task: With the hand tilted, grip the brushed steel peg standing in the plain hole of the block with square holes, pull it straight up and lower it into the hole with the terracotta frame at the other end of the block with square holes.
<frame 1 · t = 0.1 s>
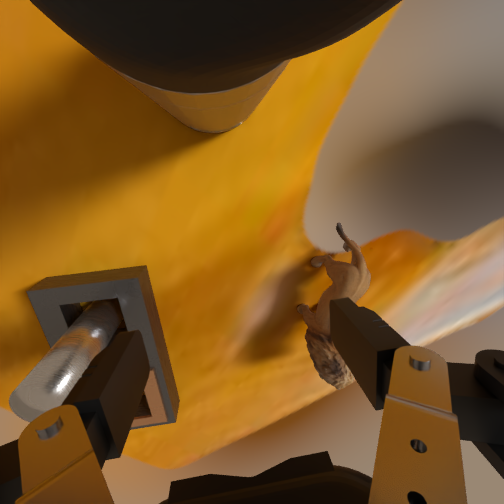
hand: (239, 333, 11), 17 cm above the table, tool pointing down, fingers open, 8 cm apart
steel peg: (108, 308, 29), resting in block with square holes
lion figurine: (323, 286, 32), on the table
block with square holes: (120, 346, 31), on the table
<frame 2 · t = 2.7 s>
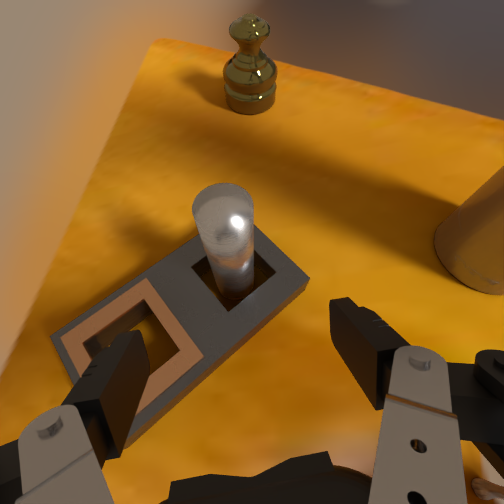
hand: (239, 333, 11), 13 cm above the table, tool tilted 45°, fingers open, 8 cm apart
bronze chess pawn: (250, 101, 40), on the table
steel peg: (235, 282, 27), resting in block with square holes
block with square holes: (193, 315, 25), on the table
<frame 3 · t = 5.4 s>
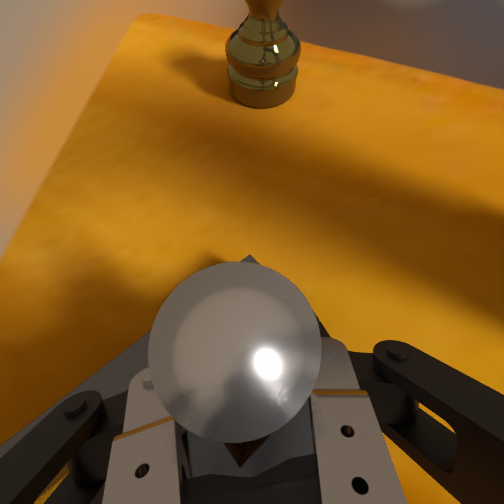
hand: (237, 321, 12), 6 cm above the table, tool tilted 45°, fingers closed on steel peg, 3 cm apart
bronze chess pawn: (262, 90, 30), on the table
steel peg: (247, 376, 16), resting in block with square holes, touching gripper
block with square holes: (178, 442, 15), on the table
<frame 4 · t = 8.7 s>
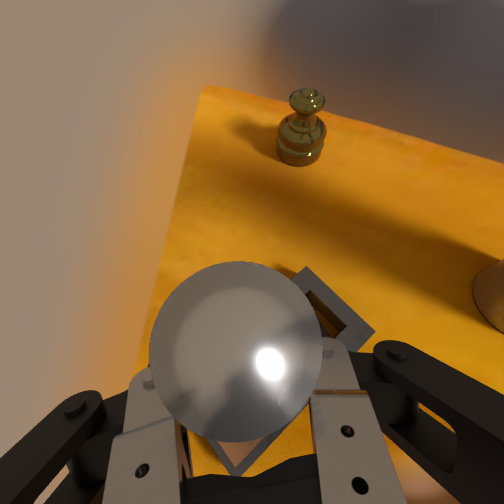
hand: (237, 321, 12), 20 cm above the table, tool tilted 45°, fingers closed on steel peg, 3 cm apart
bronze chess pawn: (298, 152, 45), on the table
steel peg: (248, 376, 16), point 14 cm above the table, touching gripper
block with square holes: (274, 359, 30), on the table
when the fingers open (7 cm above the table, at t = 12.1 s): steel peg drops 2 cm, resting in block with square holes.
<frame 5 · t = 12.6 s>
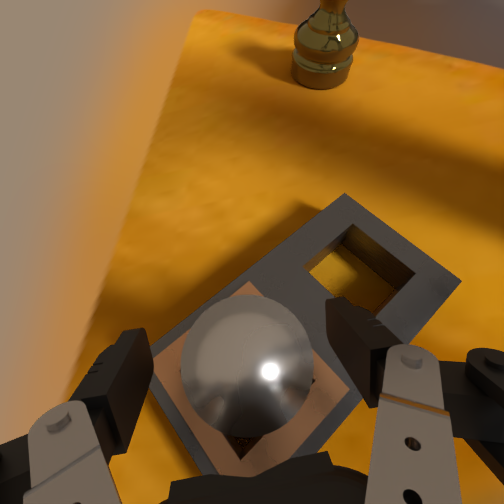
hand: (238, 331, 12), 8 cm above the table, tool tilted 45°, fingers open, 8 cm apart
bronze chess pawn: (318, 75, 35), on the table
steel peg: (249, 380, 18), resting in block with square holes
block with square holes: (300, 328, 20), on the table
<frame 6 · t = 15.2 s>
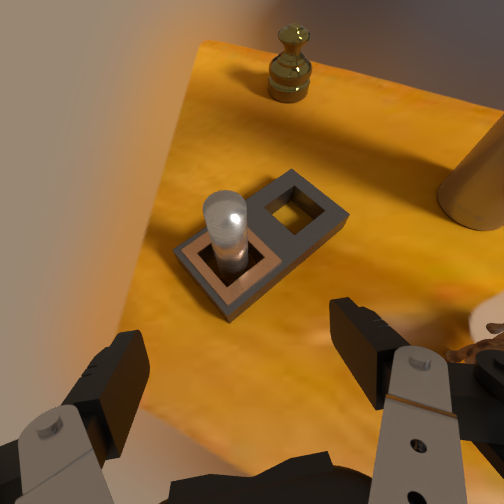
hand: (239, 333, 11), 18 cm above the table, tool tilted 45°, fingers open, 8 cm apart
bronze chess pawn: (287, 92, 50), on the table
steel peg: (233, 268, 33), resting in block with square holes
lion figurine: (484, 359, 28), on the table
block with square holes: (263, 244, 34), on the table
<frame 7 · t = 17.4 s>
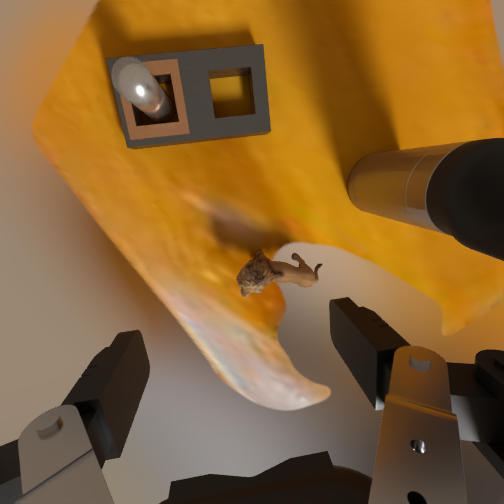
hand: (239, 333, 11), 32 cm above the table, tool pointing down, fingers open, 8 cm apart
steel peg: (159, 107, 37), resting in block with square holes
lion figurine: (275, 265, 46), on the table
block with square holes: (195, 102, 37), on the table
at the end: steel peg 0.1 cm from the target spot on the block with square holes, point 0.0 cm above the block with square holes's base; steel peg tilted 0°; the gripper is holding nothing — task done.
